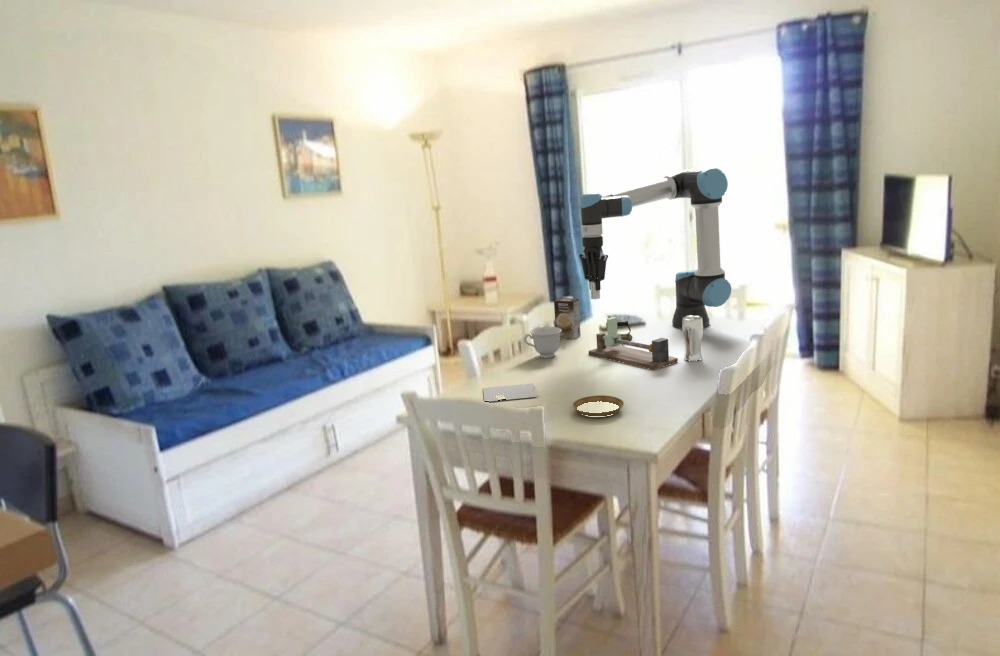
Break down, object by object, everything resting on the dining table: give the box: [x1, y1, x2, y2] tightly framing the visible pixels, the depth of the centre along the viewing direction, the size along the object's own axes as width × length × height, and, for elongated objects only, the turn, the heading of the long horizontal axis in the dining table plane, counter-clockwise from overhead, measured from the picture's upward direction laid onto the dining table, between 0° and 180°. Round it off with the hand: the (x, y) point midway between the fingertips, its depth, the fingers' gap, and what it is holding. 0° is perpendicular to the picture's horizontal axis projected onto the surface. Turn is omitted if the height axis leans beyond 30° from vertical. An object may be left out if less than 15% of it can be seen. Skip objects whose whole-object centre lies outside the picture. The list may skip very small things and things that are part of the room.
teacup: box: [523, 326, 562, 359], centre depth 259 cm, size 12×15×10 cm
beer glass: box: [681, 316, 704, 362], centre depth 239 cm, size 7×7×15 cm
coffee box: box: [553, 297, 581, 340], centre depth 284 cm, size 9×6×16 cm
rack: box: [588, 332, 679, 371], centre depth 247 cm, size 12×32×9 cm, turn 37°
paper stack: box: [482, 383, 538, 403], centre depth 226 cm, size 23×25×1 cm
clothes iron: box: [605, 320, 633, 342], centre depth 274 cm, size 7×11×10 cm, turn 75°
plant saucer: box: [572, 394, 624, 416], centre depth 199 cm, size 15×15×3 cm
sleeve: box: [604, 316, 622, 347], centre depth 253 cm, size 5×4×10 cm
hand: (595, 298), depth 257 cm, fingers closed
